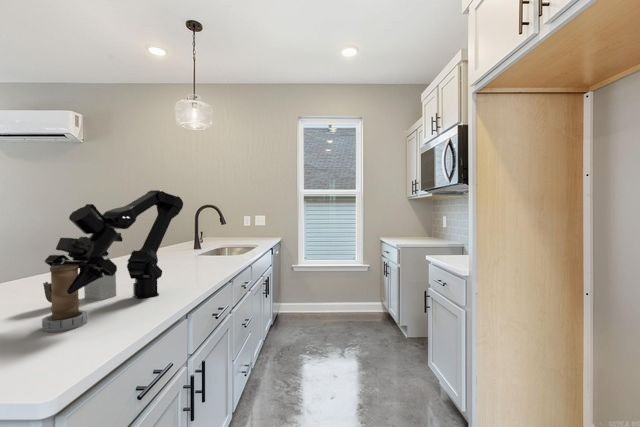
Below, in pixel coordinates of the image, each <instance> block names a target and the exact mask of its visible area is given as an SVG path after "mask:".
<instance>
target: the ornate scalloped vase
mask: <svg viewBox="0 0 640 427" xmlns="http://www.w3.org/2000/svg"><path fill="white" fill-rule="evenodd" d="M50 287H51V282H47V281H45V282H43V290H44V296H45V299H46V301H48V302H49V303H51V304H52V293H51V292H50V291H49V290H50Z"/></svg>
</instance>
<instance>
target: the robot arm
mask: <svg viewBox="0 0 640 427" xmlns="http://www.w3.org/2000/svg"><path fill="white" fill-rule="evenodd" d="M153 206H155V207H156V211H157V216H156V218H155V220H154V222H153V224H152V227H151V229H150V230H149V232H148V234H147V236H146V238H145V241H144V242H143V244H142V247H141V248H140V249H139V250H132V251H131V254H130V257H129V258H128V260H127V261H126V262H127V264H126V269H127V271H128V275H129V277H130V279H132V280H133V279H134V280H135V281H134V283H133V284H132V285H133V289H132V291H133V296H134V297H135V298H136V299H139V300H140V299H144V298H146V299H147V298H152V297H156V296H159V295H160V293H159V292H158V279H160V278H162V274H163V270H162V269H161V267H159V265H158V261H159V259H158V255H157V253H158V250H159V249H160V247H161V244H162V242H163V239H164V237H165V234H167V233H166V232H167V230H168V228H169V226H170V223H171V221H172V220H173V219H174V218H175V217H177V216H178V215H180V212H181V211H182V209H183V207H184V202H183V200H182V198H181V197H180V196H178V195H173V194H170V193H167V192H165V191H163V190H160V189H158V190H157V189H155V190H154V189H153V190H152V189H151V190H149V191H147V193H145V194H144V195H141V196H140V197H138V198H137V199H134V200H133V201H132V202H130V203H128V204H126V205H124V206H121V207H116V208H112V209H110V210H107V211H105V212H104V213H101V212H100V211H99V210H98V209H97V206H95V205H94V203H86V204H85V205H84V206H82V207H80V208H78V209H76V210H74V211H72V212H71V214H70V215H69V217H68V219H69V221H70V222H71V223H73V225H75V226H76V227H77V228H78V229H79V230H80V231H81V232H82V233H83V234H85V235H90V236H89V237H87V236H79V237H78V238H74V237H60V238H59V240H58V242H57V244H56V248H55V251H56V250H57V251H62V252H65V253H68V254H67V256H68V257H69V258H68V257H67V256H66V255H64V254H49V256H47V257H46V258H45V260H44V263H45V264H46V265H48V266H50V267H53V266H59V265H69V264H77V265H79V271H78V276H77V277H76V278H75V280H74V281H73V283H72V284H71V286H70V287H69V289H68V291H67V293H69V294H72V293H74V292H76V291H77V290H78V291H79V290H80V289H82V288H84V286H86V285H88V284H89V283H91V282H93V281H95V280H97V279H99V278H102V277H103V275H102V273H104V275H105V276H113V275H114V274H115V272H116V273H117V271H118V267H117V265H116V264H115V262H113V261H112V259H110V258H109V257H108V256H109V254H110V253H109V252H108V250H109V249H110V247H111V246H112V245H113V243H114V242H118V243H119V242H123V237H122V232H117V230H126V229H127V230H128V229H129V228H131V226H132V225H133V224H134V223H136V221H137V218H138V216H140V215H141V214H143V213H145V212H146V211H147V210H150V209H151V208H152V207H153ZM70 258H71V259H70ZM49 291H50V292H51V287H50V290H49ZM51 293H52V292H51Z"/></svg>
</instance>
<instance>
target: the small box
mask: <svg viewBox="0 0 640 427" xmlns="http://www.w3.org/2000/svg"><path fill="white" fill-rule="evenodd" d="M116 273H117V271H116V272H115V274H114V275H113V276H105V275H104V273H102V275H103V277H102V278H99V279H97V280H95V281H93V282H91V283H89V284H88V285H86V286H84V287H83V288H84V299H89V300H97V301H98V300H99V301H102V300H105V299H109V298H112V297H116V296H117V276H116Z"/></svg>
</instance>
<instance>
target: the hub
mask: <svg viewBox="0 0 640 427" xmlns="http://www.w3.org/2000/svg"><path fill="white" fill-rule="evenodd" d="M87 322H88V312H87V310H81V309H79V315H78V316H76V317H73V318H69V319H65V320H53V319H52V314H50V315H47V316H45V317H43V318H42V319H41V324H42V325H41V327H42V332H44V333H59V332H60V333H61V332H66V331H70V330H76V329H78V328H79V327H83V326H84V325H86V324H87Z"/></svg>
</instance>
